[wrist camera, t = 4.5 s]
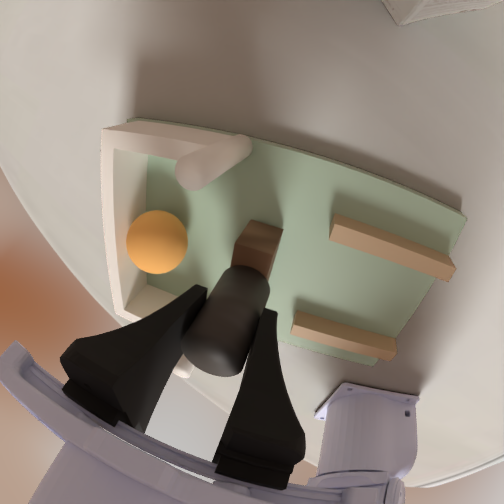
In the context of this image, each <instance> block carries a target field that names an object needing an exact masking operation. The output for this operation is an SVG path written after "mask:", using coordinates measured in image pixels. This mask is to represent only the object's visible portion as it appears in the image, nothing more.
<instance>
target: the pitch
mask: <svg viewBox="0 0 504 504" xmlns="http://www.w3.org/2000/svg"><path fill="white" fill-rule="evenodd" d="M101 199H102V217H103V230H104V240H105V250H106V258H107V266H108V273H109V280H110V286H111V292H112V298H113V304H114V309H115V314H117V315H119V316H121V317H123V318H125V319H127V320H129V321H131V322H133V323H134V322H136V321H138V320H140V319H142V318H144V317H146V316H148V315H150V314H152V313H153V312H155V311H157V310H159V309H160V308H162V307H164V306H165V305H167V304H168V303H170V302H171V301H173V300H174V299H176V298H177V297H179V296H180V295H181V294H183V293H184V292H186V291H187V290H188V289H190V288H191V287H192V286H194V285H195V284H198V285H201V286H204V287H206V288H208V291H207V298H208V296H209V295H210V293H211V292H212V290H213V288H214V287H215V285H216V284H217V282H218V280H219V279H220V277H221V276H222V274H223V272H224V271H225V270H226V269H228V268H230V265H231V260H232V255H233V250H234V244H235V242H236V240H237V239H238V237H239V236H240V234H241V233H242V231H243V230H244V229H245V227H246V226H247V224H248V223H249V221H250V220H251V219H252V220H255V221H258V222H262V223H265V224H268V225H272V226H275V227H278V228H281V229H284V230H283V233H282V237H281V240H280V244H279V247H278V251H277V254H276V257H275V261H274V264H273V268H272V271H271V274H270V278H269V281H268V283H269V286H270V295H269V298H268V301H267V304H266V307H265V308H268V309H271V310H274V311H277V313H278V318H277V340H278V341H281V342H284V343H287V344H290V345H294V346H297V347H301V348H304V349H307V350H311V351H314V352H318V353H321V354H325V355H329V356H332V357H336V358H340V359H344V360H348V361H352V362H356V363H360V364H364V365H368V366H372V367H373V366H374V365H375V364H376V362H377V361H378V360H379V359H382V360H387V361H391V360H392V359H393V358H394V357H395V355H396V354H397V346H396V339H395V338H396V337H397V336H398V334H399V333H400V332H401V330H402V329H403V327H404V326H405V325H406V323H407V322H408V320H409V319H410V318H411V316H412V315H413V313H414V312H415V310H416V309H417V307H418V306H419V304H420V303H421V301H422V300H423V298H424V297H425V295H426V293H427V292H428V290H429V289H430V287H431V285H432V284H433V282H434V281H435V279H436V278H438V279H441V280H444V281H446V282H449V280H450V278H451V277H452V275H453V273H454V272H455V270H456V268H455V266H454V264H453V262H452V261H451V259H450V257H449V254H450V252H451V251H452V249H453V247H454V245H455V243H456V241H457V239H458V237H459V235H460V233H461V231H462V229H463V227H464V225H465V222H466V220H467V218H466V217H465V216H464V215H463V213H462V212H460V211H458V210H456V209H454V208H452V207H450V206H448V205H446V204H444V203H441V202H439V201H437V200H435V199H433V198H431V197H429V196H426V195H424V194H422V193H420V192H417V191H415V190H413V189H410V188H408V187H406V186H403V185H401V184H398V183H396V182H393V181H391V180H388V179H386V178H383V177H381V176H378V175H375V174H373V173H370V172H367V171H365V170H362V169H359V168H356V167H353V166H351V165H348V164H345V163H342V162H339V161H336V160H333V159H329V158H326V157H323V156H320V155H317V154H313V153H310V152H307V151H303V150H300V149H296V148H293V147H289V146H285V145H282V144H278V143H274V142H270V141H266V140H262V139H258V138H254V137H249V136H245V135H242V134H236V133H231V132H226V131H221V130H216V129H211V128H206V127H200V126H194V125H188V124H182V123H175V122H168V121H161V120H153V119H145V118H131V119H127V123H125V124H120V125H116V126H112V127H107V128H103V129H102V132H101ZM154 210H161V211H166V212H169V213H171V214H173V215H174V216H176V217H177V218H178V219H179V220H180V221H181V222H182V224H183V225H184V227H185V229H186V232H187V236H188V247H187V252H186V254H185V257H184V258H183V260H182V261H181V263H180V264H179V265H178V266H177V267H175V268H174V269H173V270H171V271H169V272H166V273H162V274H152V273H148V272H145V271H143V270H141V269H140V268H138V267H137V266H136V265H135V264H134V263H133V262H132V260H131V259H130V257H129V255H128V252H127V248H126V237H127V233H128V230H129V228H130V226H131V224H132V223H133V221H134V220H135V219H136V218H138V217H139V216H140V215H142V214H144V213H146V212H149V211H154ZM206 300H207V299H206ZM194 367H195V366H194V365H193V364H192V363H191V362H190V361H189V360H188V359H187V358H186V357H185V355H184V354H183V355H182V356H181V358H180V360H179V361H178V363H177V364H176V366H175V367H174V369H173V371H172V372H173V373H175V374H176V375H178V376H180V377H182V378H189V376H190V375H191V373H192V371H193V369H194Z"/></svg>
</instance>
